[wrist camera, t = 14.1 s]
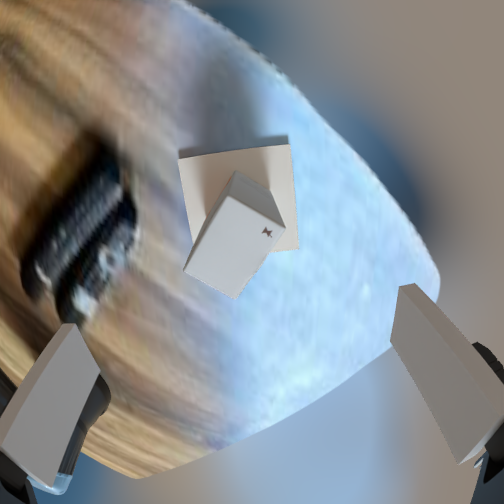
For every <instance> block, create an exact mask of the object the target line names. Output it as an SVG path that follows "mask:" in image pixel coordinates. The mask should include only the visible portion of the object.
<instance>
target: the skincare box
mask: <svg viewBox="0 0 504 504" xmlns="http://www.w3.org/2000/svg"><path fill="white" fill-rule="evenodd" d="M285 230H286V226H285V224H284V222H283V220H282V217H281V215H280V212H279V210H278V207H277V205H276V203H275V200H274V198H273V196H272V193H271V191H270V190H268V189H267V188H265V187H263V186H262V185H260V184H259V183H257V182H255V181H254V180H252V179H250V178H249V177H247V176H245V175H244V174H242V173H240V172H239V171H237V170H235V171H234V172H233V174H232V176H231V177H230V179H229V180H228V182H227V184H226V185H225V187H224V188H223V190H222V192H221V193H220V195H219V197H218V198H217V200H216V202H215V203H214V205H213V207H212V209H211V210H210V212H209V214H208V215H207V217H206V219H205V221H204V223H203V225H202V227H201V229H200V232H199V234H198V236H197V238H196V241H195V243H194V245H193V247H192V250H191V252H190V254H189V257H188V259H187V262H186V264H185V266H184V269H183V272H185V273H187V274H189V275H191V276H193V277H194V278H196V279H198V280H200V281H201V282H203V283H205V284H207V285H209V286H210V287H212V288H214V289H216V290H218V291H220V292H221V293H223V294H225V295H227V296H229V297H230V298H232V299H236V298H237V297H238V296H239V295H240V293H241V292H242V291H243V289H244V288H245V286H246V285H247V284H248V282H249V281H250V279H251V278H252V277H253V275H254V274H255V273H256V272H257V271H258V270H259V268H260V267H261V266H262V264H263V262H264V261H265V259H266V257H267V256H268V254H269V253H270V252H271V250H272V249H273V247H274V246H275V244H276V243H277V241H278V240H279V238H280V237H281V236H282V234H283V233H284V231H285Z"/></svg>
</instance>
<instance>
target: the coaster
mask: <svg viewBox="0 0 504 504" xmlns="http://www.w3.org/2000/svg"><path fill="white" fill-rule="evenodd" d="M178 165H179V171H180V177H181V182H182V188H183V194H184V199H185V205H186V210H187V215H188V220H189V226H190V231H191V236H192V241H193V245H194V243H195V241H196V238H197V236H198V234H199V232H200V229H201V227H202V225H203V223H204V221H205V219H206V217H207V215H208V214H209V212H210V210H211V209H212V207H213V205H214V203H215V202H216V200H217V198H218V197H219V195H220V193H221V192H222V190H223V188H224V187H225V185H226V184H227V182H228V180H229V179H230V177H231V176H232V174H233V172H234V171H235V170H237V171H239V172H240V173H242V174H244V175H245V176H247V177H249V178H250V179H252V180H254V181H255V182H257V183H259V184H260V185H262V186H263V187H265V188H267V189H268V190H270V191H271V193H272V196H273V198H274V200H275V203H276V205H277V207H278V210H279V212H280V215H281V217H282V220H283V222H284V224H285V226H286V230H285V231H284V233H283V234H282V236H281V237H280V238H279V240H278V241H277V243H276V244H275V246H274V247H273V249H272V250H271V252H279V251H287V250H295V249H299V242H298V228H297V214H296V202H295V190H294V179H293V169H292V159H291V149H290V144H284V145H274V146H264V147H255V148H247V149H239V150H232V151H225V152H218V153H211V154H205V155H199V156H193V157H187V158H182V159H178ZM271 252H270V253H271Z"/></svg>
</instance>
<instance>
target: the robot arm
mask: <svg viewBox="0 0 504 504" xmlns="http://www.w3.org/2000/svg"><path fill="white" fill-rule="evenodd" d="M390 342H391V343H392V345H393V347H394V348H395V350H396V352H397V353H398V355H399V356H400V358H401V360H402V362H403V363H404V365H405V366H406V368H407V370H408V372H409V373H410V375H411V377H412V378H413V380H414V382H415V384H416V385H417V387H418V389H419V391H420V392H421V394H422V396H423V398H424V400H425V401H426V403H427V405H428V407H429V409H430V411H431V412H432V414H433V416H434V418H435V420H436V422H437V424H438V426H439V427H440V430H441V432H442V433H443V435H444V437H445V439H446V441H447V443H448V445H449V447H450V449H451V451H452V454H453V455H454V458H455V460H456V462H457V464H458V465H459V464H461V463H463V462H464V461H466V460H468V459H470V458H472V457H473V456H475V455H476V454H477V453H478V452H479V451H480V450H481V448H483V447H484V446H485V448H486V450H487V451H486V452H485V453H484V454H483V455H482V456H481V457H480V458H479V459H478V460H477V461H476V463H475V465H474V468H476V467H477V466H478V465H479V464H480V463H481V462H482V465H481V467H480V469H481V470H480V474H479V477H478V481H477V484H476V488H475V491H474V494H473V497H472V500H471V503H470V504H504V369H503V365H502V364H501V363H500V362H499V361H497V358H496V357H495V356H494V355H493V354H492V352H491V351H490V350H489V349H488V348H486V347H485V346H483V345H482V344H480V343H478V342H476V343H474V344H471V343H470V342H469V341H468V340H467V339H466V337H465V336H464V335H463V334H462V333H461V332H460V331H459V329H458V328H457V327H456V326H455V325H454V324H453V323H452V322H451V321H450V319H449V318H448V317H447V316H446V315H445V314H444V313H443V312H442V311H441V310H440V309H439V308H438V307H437V305H436V304H435V303H434V302H433V301H432V300H431V299H430V298H429V297H428V296H427V295H426V294H425V293H424V292H423V291H422V290H421V289H420V288H419V287H418V286H417V285H416V284H415V283H413V284H409V285H404V286H399V290H398V297H397V304H396V311H395V317H394V322H393V328H392V333H391V338H390ZM99 372H100V369H99V367H98V366H97V364H96V362H95V360H94V359H93V357H92V355H91V353H90V351H89V349H88V347H87V346H86V344H85V342H84V340H83V338H82V336H81V334H80V332H79V330H78V328H77V326H76V324H62V326H61V327H60V328H59V330H58V331H57V332H56V334H55V335H54V336H53V338H52V339H51V341H50V342H49V343H48V345H47V346H46V347H45V349H44V350H43V352H42V353H41V355H40V356H39V357H38V359H37V360H36V362H35V363H34V365H33V366H32V368H31V369H30V371H29V372H28V374H27V375H26V377H25V378H24V380H23V381H22V383H21V384H20V386H19V388H18V387H17V386H16V385H15V384H14V383H13V382H12V381H11V380H10V378H9V377H8V376H7V375H6V374H5V373H4V372H3V370H2V369H1V368H0V504H37V501H36V498H35V495H34V491H33V488H32V486H35V487H37V488H39V489H41V490H44V491H46V492H49V493H52V494H56V495H60V494H63V493H64V492H65V491H66V490H67V487H68V485H69V483H70V481H71V478H73V476H72V475H73V472H74V468H75V465H76V462H77V459H78V456H79V454H80V451H81V448H82V445H83V442H84V439H85V437H86V434H87V432H88V430H89V428H90V427H91V426H92V425H93V424H94V423H95V422H96V420H97V419H98V417H99V416H101V415H103V414H104V413H105V412H106V410H107V408H108V406H109V403H110V400H111V394H110V391H109V388H108V386H107V385H106V383H105V382H104V380H103V379H102V378H101V377H100V376H99Z"/></svg>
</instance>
